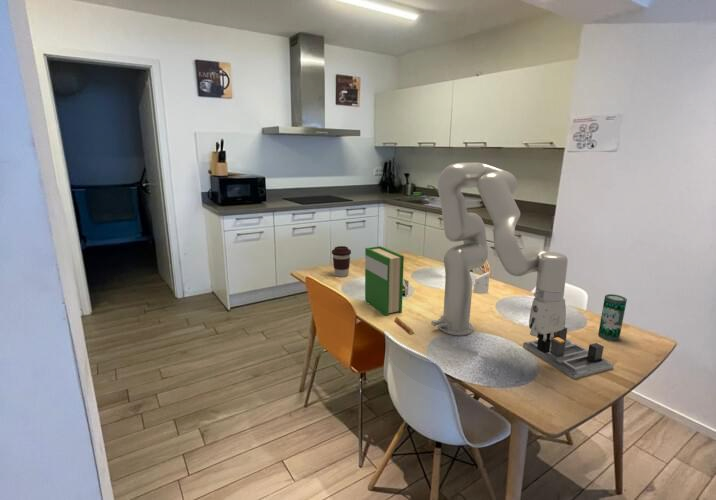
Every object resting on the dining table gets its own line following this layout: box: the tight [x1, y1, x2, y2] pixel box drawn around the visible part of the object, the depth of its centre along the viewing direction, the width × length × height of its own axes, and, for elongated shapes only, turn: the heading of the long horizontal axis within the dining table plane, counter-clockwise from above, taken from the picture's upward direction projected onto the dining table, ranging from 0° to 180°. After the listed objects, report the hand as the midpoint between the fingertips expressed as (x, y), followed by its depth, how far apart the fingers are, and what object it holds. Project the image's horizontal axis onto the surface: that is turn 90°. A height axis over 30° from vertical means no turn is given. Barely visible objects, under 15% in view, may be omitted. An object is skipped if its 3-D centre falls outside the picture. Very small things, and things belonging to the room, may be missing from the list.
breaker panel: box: [522, 326, 615, 380], centre depth 123 cm, size 16×20×7 cm
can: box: [597, 293, 628, 342], centre depth 135 cm, size 6×6×15 cm
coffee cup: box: [331, 245, 352, 278], centre depth 201 cm, size 10×10×15 cm
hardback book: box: [364, 245, 405, 317], centre depth 160 cm, size 18×7×24 cm, turn 28°
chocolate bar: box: [393, 316, 415, 336], centre depth 144 cm, size 3×12×2 cm, turn 23°
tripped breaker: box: [550, 337, 566, 357], centre depth 121 cm, size 3×2×5 cm
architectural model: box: [402, 278, 410, 297], centre depth 176 cm, size 3×7×7 cm, turn 33°
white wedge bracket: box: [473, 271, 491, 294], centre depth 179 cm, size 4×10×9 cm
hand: (543, 350), depth 118 cm, fingers closed
